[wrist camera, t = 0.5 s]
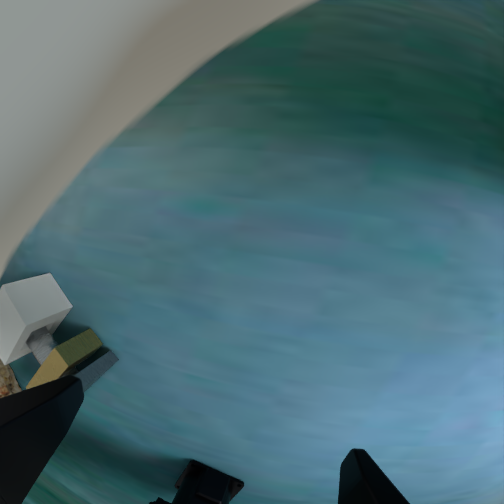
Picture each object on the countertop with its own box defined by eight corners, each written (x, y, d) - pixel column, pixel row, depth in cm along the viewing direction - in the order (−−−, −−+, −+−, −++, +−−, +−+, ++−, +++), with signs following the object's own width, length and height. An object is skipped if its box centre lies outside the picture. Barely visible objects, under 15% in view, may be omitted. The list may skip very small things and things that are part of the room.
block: (73, 306, 27) (26, 325, 21) (45, 344, 29) (4, 365, 22) (50, 272, 28) (2, 284, 21) (25, 314, 29) (-17, 329, 22)
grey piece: (118, 359, 27) (62, 403, 18) (77, 398, 28) (29, 436, 20) (62, 284, 27) (-4, 304, 18) (29, 334, 29) (-24, 359, 20)
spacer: (103, 343, 27) (68, 366, 21) (67, 381, 29) (37, 402, 23) (90, 328, 27) (54, 347, 21) (57, 368, 29) (25, 387, 23)
